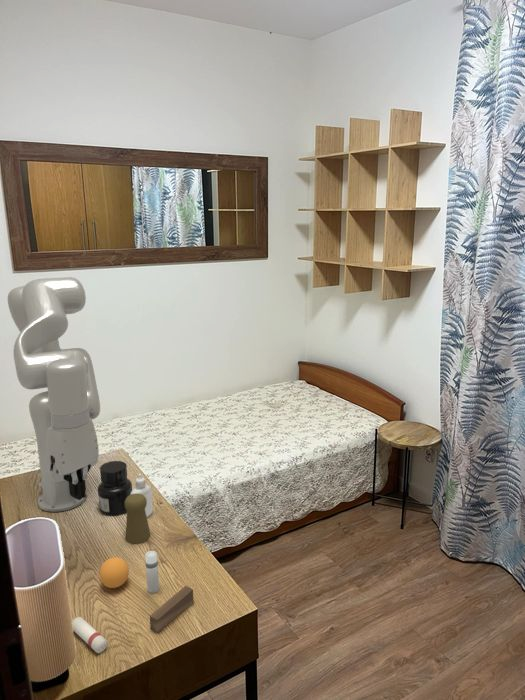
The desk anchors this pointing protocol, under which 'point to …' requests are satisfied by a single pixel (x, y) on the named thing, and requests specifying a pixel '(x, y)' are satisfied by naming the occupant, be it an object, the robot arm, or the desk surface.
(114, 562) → the ball
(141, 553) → the desk surface
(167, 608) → the rail
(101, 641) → the front pin
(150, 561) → the rear pin
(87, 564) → the desk surface
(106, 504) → the ink bottle
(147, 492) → the eye dropper bottle
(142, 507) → the olive pawn
